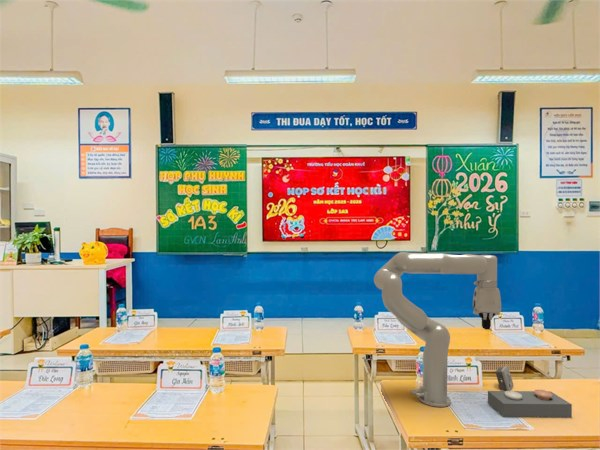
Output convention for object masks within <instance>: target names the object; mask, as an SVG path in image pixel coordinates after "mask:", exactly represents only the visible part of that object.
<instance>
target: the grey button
mask: <svg viewBox="0 0 600 450" xmlns="http://www.w3.org/2000/svg"><path fill="white" fill-rule="evenodd" d="M504 391H505V396H506V397H507V398H509V399H510V400H520V399H522V395H521V394H520V393H518V392H514V391H515V390H511V391H507V390H504Z"/></svg>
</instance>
